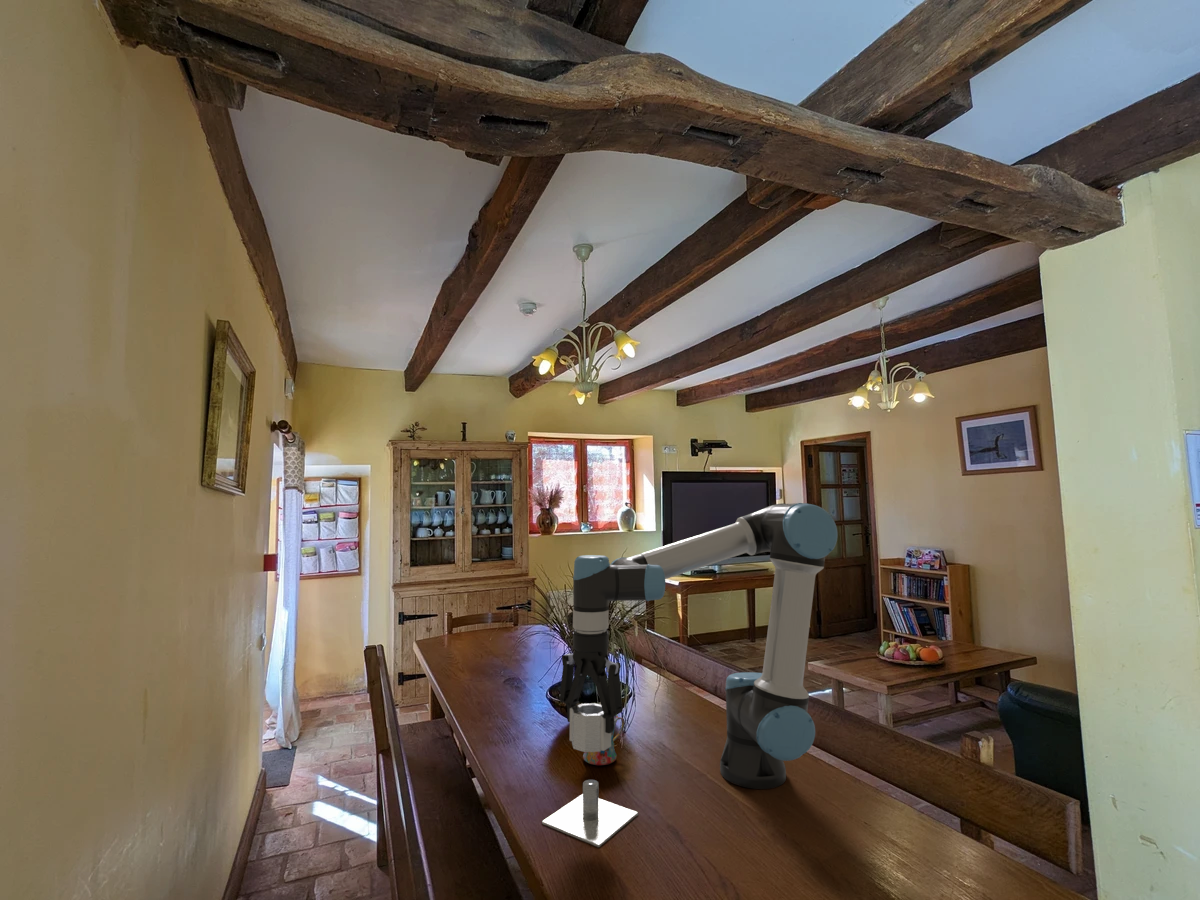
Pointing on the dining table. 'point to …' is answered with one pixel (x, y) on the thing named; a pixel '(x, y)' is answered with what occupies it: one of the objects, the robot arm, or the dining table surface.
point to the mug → (606, 755)
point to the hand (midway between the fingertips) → (590, 743)
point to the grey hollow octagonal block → (586, 727)
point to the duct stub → (590, 817)
